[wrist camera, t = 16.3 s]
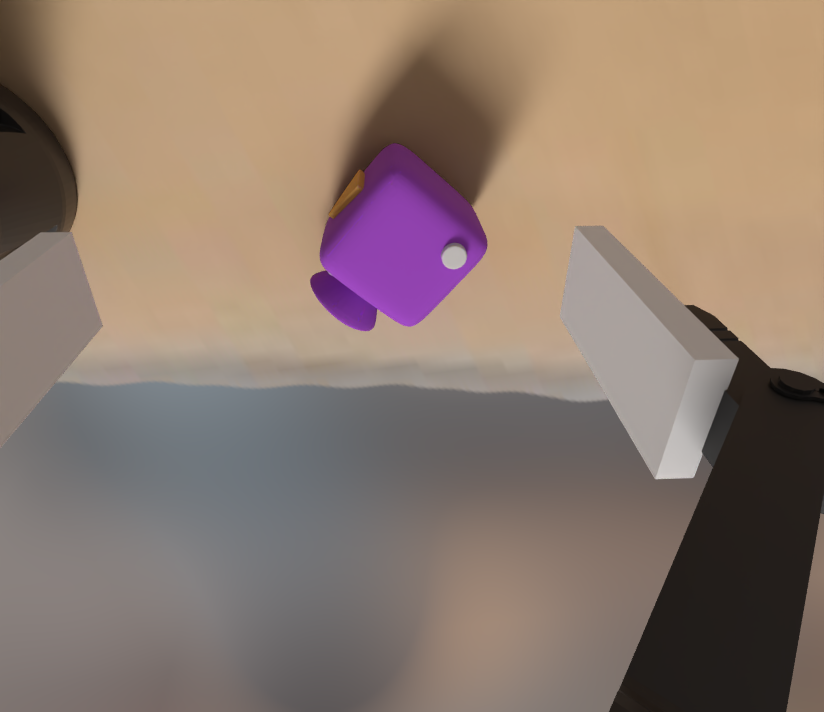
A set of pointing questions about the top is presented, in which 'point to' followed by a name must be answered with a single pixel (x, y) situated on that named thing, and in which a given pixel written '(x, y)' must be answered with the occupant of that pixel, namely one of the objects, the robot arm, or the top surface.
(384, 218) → the toy camera
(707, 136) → the top surface
